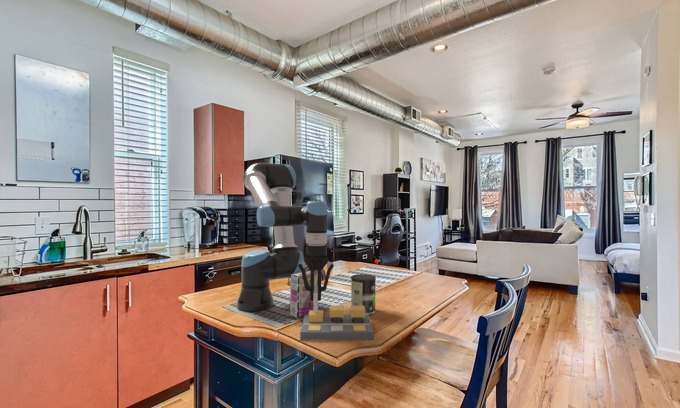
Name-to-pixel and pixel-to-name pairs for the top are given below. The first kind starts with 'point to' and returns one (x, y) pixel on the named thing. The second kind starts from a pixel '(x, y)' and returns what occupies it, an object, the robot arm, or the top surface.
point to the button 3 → (357, 313)
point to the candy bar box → (301, 295)
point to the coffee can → (363, 292)
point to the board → (337, 329)
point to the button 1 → (315, 316)
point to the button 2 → (336, 313)
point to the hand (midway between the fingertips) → (315, 309)
